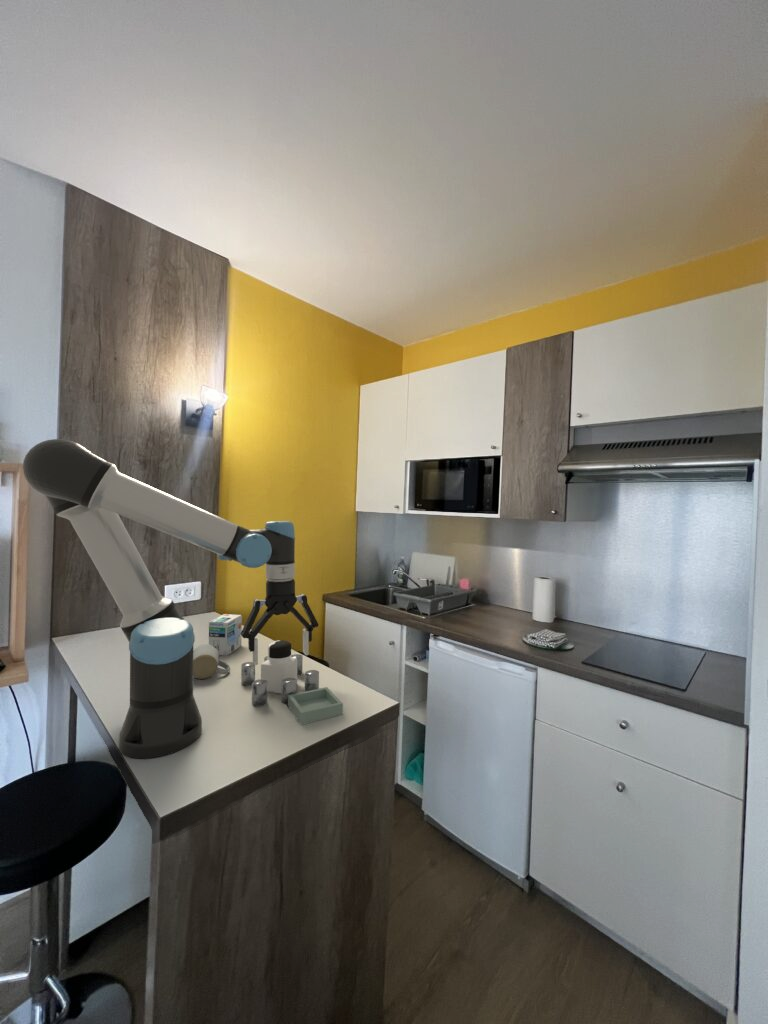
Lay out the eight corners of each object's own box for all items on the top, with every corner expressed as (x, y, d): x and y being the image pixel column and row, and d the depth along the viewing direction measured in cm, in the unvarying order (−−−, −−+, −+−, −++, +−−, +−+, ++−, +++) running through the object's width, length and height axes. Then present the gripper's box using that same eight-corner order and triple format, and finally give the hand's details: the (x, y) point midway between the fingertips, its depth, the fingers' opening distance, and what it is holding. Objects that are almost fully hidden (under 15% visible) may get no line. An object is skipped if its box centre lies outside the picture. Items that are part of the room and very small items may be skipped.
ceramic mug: (189, 682, 114) (190, 654, 114) (190, 671, 122) (191, 645, 122) (230, 677, 118) (231, 650, 118) (229, 667, 126) (230, 641, 126)
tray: (301, 724, 93) (301, 713, 93) (288, 705, 102) (288, 695, 102) (342, 714, 98) (342, 703, 98) (326, 697, 107) (326, 687, 107)
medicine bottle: (297, 683, 115) (298, 639, 115) (284, 694, 108) (285, 648, 108) (274, 680, 117) (274, 637, 116) (260, 691, 110) (260, 645, 110)
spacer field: (255, 711, 99) (255, 690, 99) (238, 678, 117) (238, 660, 117) (323, 696, 107) (324, 677, 107) (297, 667, 126) (297, 651, 126)
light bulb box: (227, 656, 135) (227, 622, 135) (207, 655, 136) (207, 621, 136) (242, 645, 146) (242, 614, 145) (223, 644, 146) (224, 613, 146)
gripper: (234, 586, 103) (234, 672, 103) (329, 577, 115) (330, 654, 115) (228, 581, 109) (229, 662, 110) (319, 573, 121) (320, 646, 122)
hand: (281, 658), depth 112 cm, fingers open, 13 cm apart
